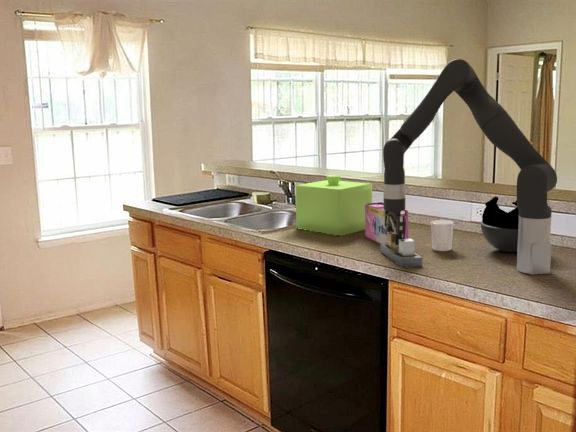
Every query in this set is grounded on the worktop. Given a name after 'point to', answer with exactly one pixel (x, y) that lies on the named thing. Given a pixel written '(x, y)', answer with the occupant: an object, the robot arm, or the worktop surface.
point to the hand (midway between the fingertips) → (394, 242)
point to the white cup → (441, 235)
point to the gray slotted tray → (401, 261)
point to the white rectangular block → (406, 247)
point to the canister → (332, 205)
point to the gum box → (379, 222)
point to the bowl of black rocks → (500, 226)
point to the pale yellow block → (391, 240)
